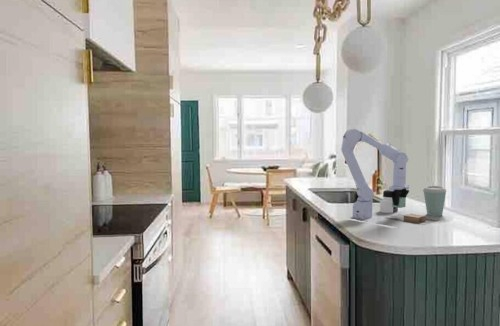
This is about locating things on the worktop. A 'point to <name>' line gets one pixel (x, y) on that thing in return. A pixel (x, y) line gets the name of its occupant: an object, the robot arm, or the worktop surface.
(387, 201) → the medicine bottle
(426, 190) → the disposable coffee cup
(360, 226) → the worktop surface
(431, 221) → the stacking base
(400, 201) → the green cube
